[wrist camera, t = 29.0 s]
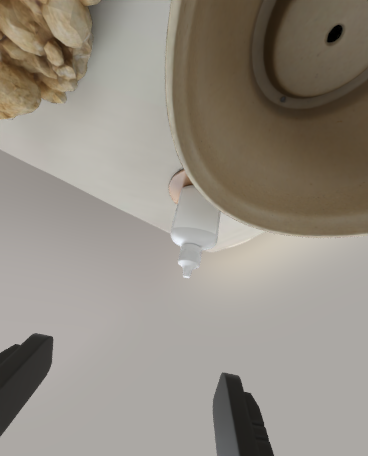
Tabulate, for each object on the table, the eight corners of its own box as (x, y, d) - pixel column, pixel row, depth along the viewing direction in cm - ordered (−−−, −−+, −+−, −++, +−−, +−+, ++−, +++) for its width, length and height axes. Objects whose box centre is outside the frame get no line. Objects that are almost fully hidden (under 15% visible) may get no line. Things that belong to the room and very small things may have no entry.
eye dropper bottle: (191, 173, 23) (170, 262, 17) (227, 193, 25) (220, 281, 19) (177, 193, 27) (154, 273, 20) (209, 209, 28) (198, 287, 22)
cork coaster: (171, 159, 23) (170, 161, 22) (243, 175, 23) (243, 177, 22) (167, 205, 30) (167, 207, 30) (222, 217, 30) (221, 219, 30)
